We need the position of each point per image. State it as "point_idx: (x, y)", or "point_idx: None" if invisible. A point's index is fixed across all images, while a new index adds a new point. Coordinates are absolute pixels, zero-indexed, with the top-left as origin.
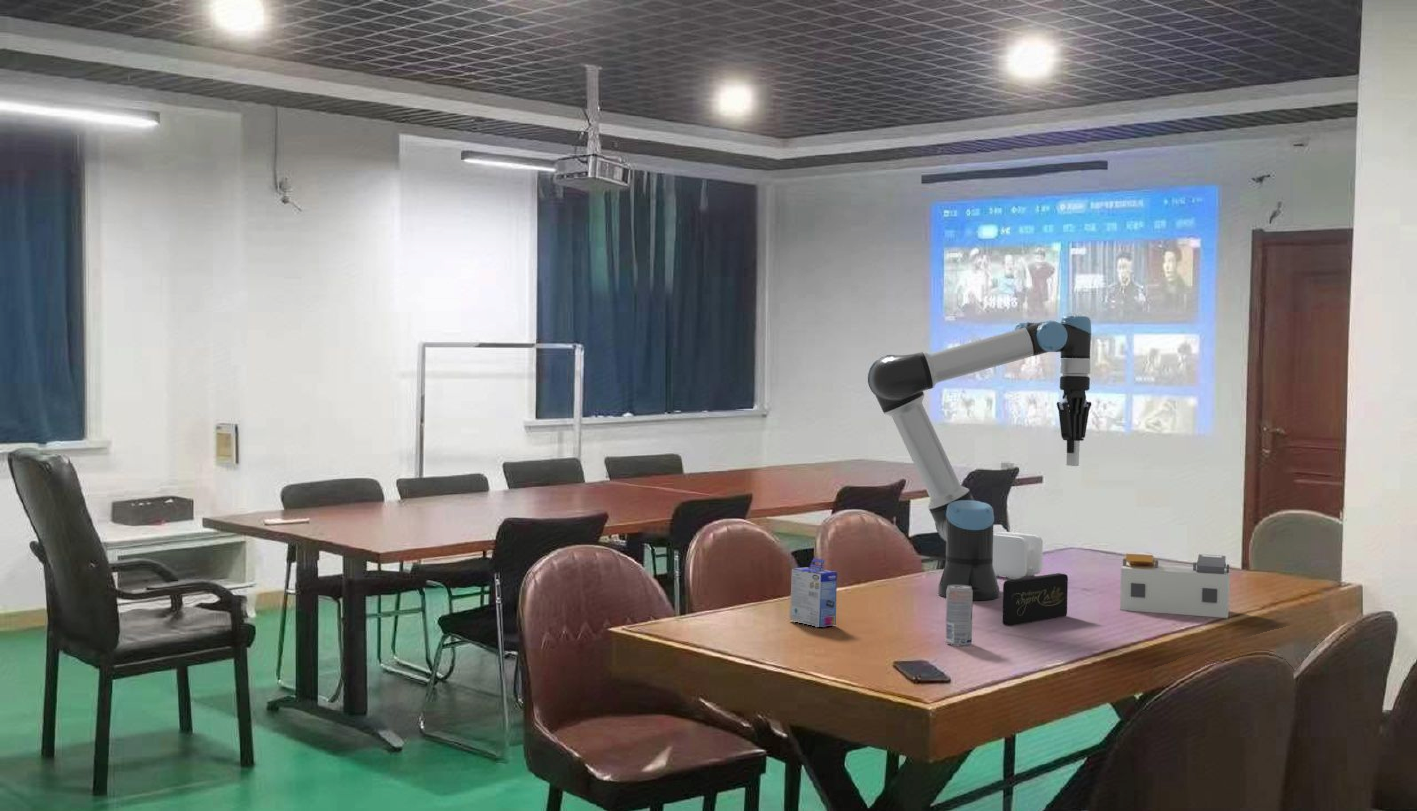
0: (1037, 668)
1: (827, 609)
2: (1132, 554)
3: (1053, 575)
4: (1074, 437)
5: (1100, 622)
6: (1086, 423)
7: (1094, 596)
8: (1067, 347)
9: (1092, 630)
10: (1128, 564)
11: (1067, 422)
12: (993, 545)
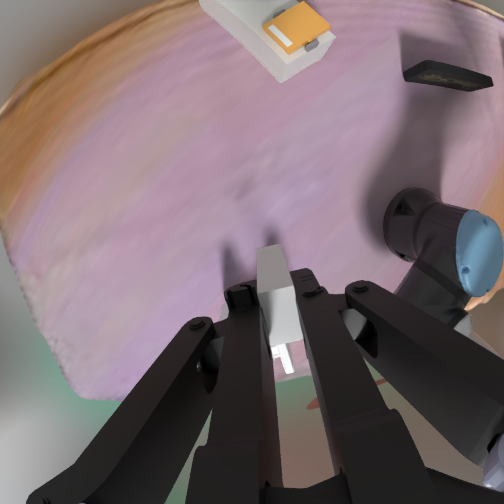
0: (492, 16)
1: None
2: (324, 20)
3: (445, 65)
4: (313, 294)
5: (390, 36)
6: (144, 383)
7: (278, 138)
8: None
9: (417, 26)
10: (296, 51)
11: (447, 328)
12: (289, 348)
